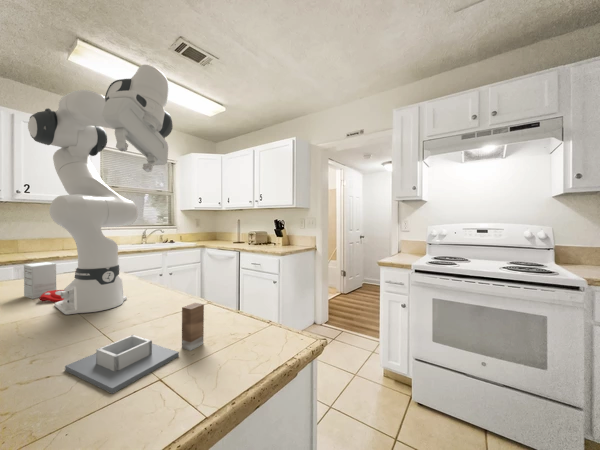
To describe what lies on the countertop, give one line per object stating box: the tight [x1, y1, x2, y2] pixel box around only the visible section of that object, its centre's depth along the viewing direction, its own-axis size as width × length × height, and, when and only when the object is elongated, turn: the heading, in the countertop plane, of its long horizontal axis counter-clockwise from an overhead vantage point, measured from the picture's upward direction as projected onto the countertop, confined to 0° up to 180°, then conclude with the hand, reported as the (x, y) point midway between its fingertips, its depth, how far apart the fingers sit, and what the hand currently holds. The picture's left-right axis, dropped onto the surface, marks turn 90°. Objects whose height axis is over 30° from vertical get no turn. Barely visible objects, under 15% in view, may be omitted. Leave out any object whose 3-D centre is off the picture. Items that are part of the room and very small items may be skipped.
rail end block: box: [181, 302, 205, 352], centre depth 63 cm, size 3×4×10 cm
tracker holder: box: [38, 289, 64, 303], centre depth 98 cm, size 12×4×10 cm
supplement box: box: [23, 261, 57, 300], centre depth 101 cm, size 7×7×13 cm
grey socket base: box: [64, 334, 180, 394], centre depth 55 cm, size 16×14×4 cm
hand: (135, 160), depth 65 cm, fingers open, 8 cm apart
